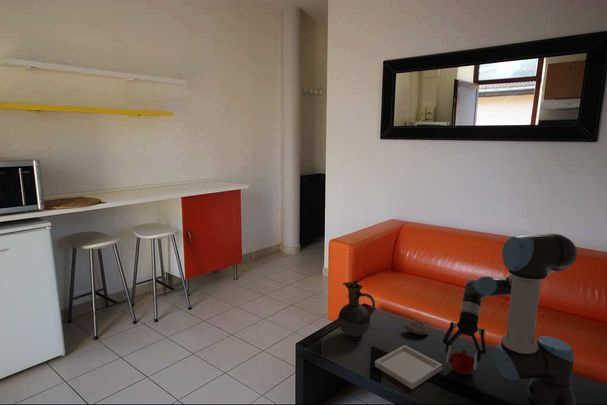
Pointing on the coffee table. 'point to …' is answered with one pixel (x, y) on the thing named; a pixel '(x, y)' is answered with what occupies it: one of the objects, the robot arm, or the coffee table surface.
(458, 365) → the pomegranate
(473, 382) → the coffee table surface
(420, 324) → the fossilized seashell
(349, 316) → the pitcher
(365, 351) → the coffee table surface
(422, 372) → the tray
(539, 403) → the robot arm
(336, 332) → the coffee table surface
